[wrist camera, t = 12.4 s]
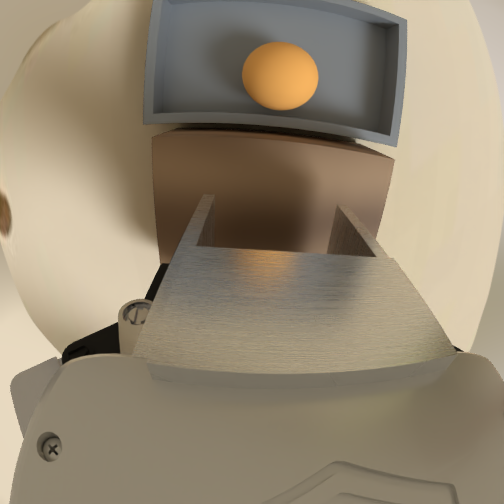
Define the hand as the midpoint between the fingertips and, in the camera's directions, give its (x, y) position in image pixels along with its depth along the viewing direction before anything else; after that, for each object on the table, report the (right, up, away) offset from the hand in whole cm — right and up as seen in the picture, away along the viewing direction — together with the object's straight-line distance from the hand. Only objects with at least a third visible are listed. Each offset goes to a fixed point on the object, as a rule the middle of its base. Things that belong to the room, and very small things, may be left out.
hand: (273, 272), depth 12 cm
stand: (0, +4, +7) cm, 8 cm away
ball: (+1, +10, 0) cm, 10 cm away
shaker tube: (0, +1, +1) cm, 2 cm away
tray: (+1, +13, +2) cm, 13 cm away
